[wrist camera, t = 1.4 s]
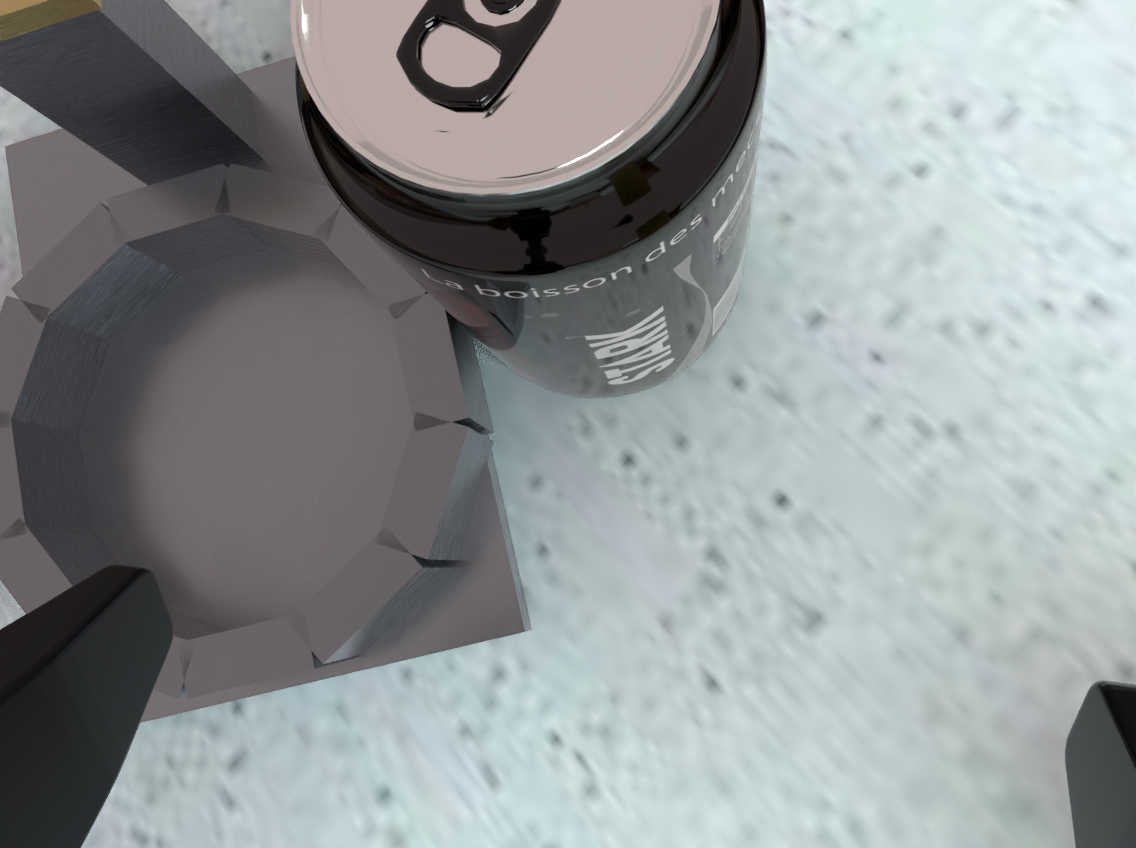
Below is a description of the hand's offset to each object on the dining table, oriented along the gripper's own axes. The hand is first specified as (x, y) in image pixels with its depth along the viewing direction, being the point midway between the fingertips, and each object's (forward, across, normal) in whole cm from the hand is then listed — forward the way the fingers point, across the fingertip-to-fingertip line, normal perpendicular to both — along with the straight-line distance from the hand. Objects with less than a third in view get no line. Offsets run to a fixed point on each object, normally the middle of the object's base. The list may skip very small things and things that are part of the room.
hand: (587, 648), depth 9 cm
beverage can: (+15, +2, +4) cm, 16 cm away
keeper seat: (+13, +11, +6) cm, 18 cm away
